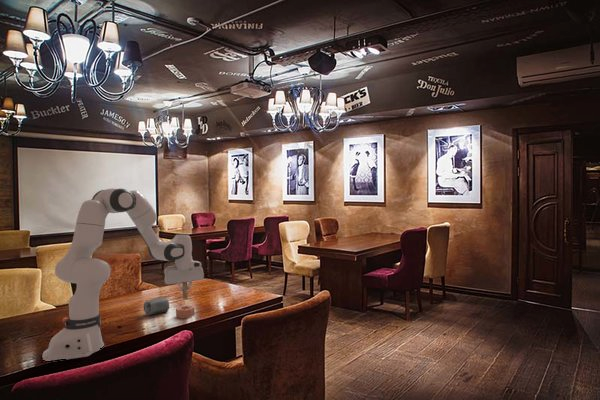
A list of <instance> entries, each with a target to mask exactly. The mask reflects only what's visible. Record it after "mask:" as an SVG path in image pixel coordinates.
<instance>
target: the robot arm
mask: <svg viewBox="0 0 600 400" xmlns="http://www.w3.org/2000/svg"><path fill="white" fill-rule="evenodd" d="M119 213H127V215H128V216H129V219H131V221H132V222H133V224H134V225H135V227H136V229H137V231H138V233H139V234H140V236H141V238H142V239H143V241H144V243H145V244H146V247H147V250H148V253H149V257H150V258H151V259H153V260H155V261H164V262H166V261H167V262H175V264H174V265H168V266H166V267H165V268H164V269H163V274H164V283H165V284H166V285H172V284H173V285H174V284H177V286H178V287H179V289H178V290H179V291H180V292H181V291H182V292H183V287H182V286H181V285H182V282H187V283H188V284H187V291H190V290H191V286H192V284H193V282H194V281H201V280H203V279H204V278H205V273H204V269H203V266H202V262H201V261H198V260H193V256H192V255H193V254H192V252H193V245H192V244H193V243H192V238H191V236H190V235H188V234H182V233H181V234H179V233H178V234H175V236H174V237H173V238H172V239H171V240H169V241H163V240H162V239H160V238H158V236H157V234H156V232H155V230H154V229H153V225H154V224H155V223H156V221H157V217H158V216H157V213H156V211H155V209H154V207H153V206H152V204H151V203H150V202H149V200H148V199H147V198H146V197H145V196H144V195H143V194H142V193H141V192H140V191H139V190H129V189H125V188H107V189H106V188H105V189H101V190H99V191H97V192H96V193H95V194H94V195H93V197H92V198H91V199H88V200H84V201H83V202H82V203H81V206H80V208H79V211H78V214H77V219H76V222H75V226H74V227H75V228H74V233H73V237H72V242H71V244H70V246H69V249H68V250H67V252H66V254H65V255H64V257H62V258H61V259H60V260H59V261H58V262H57V263H56V264H55V269H54V274H55V276H56V278H57V279H59V280H60V281H63V282H66V283H69V284H70V283H71V284H76V288H75V292H74V294H73V295H72V296H70V298H69V299H68V314H69V315H68V316H69V317H67V316H66V317H63V319H62V323H63V328H62V329H61V330H60V331H58V333H56V334H55V335H54V336H53V337H52V338H51V339H50V340H49V341H50V342H49V344H48V348H47V349H45V350H44V351H43V353H42V355H41V356H42V358H43V359H42V360H45V361H51V360H57V359H66V360H71V359H72V360H73V359H79V358H86V357H90V356H91V355H92V354H94V353H96V352H98V351H100V350H101V349H100V348H102V347H103V346H104V347H105V343H104V340H103V337H102V332H101V325H102V323H101V322H102V321H101V320H102V319H101V314H100V310H99V309H100V305H99V304H100V303H99V301H100V299H99V298H100V293H101V289H102V287H103V285H104V284H105V283H106V282H107V281H108V280H109V278H110V277H111V271H112V269H111V265H110V264H109V263H108V262H106V260H102V259H100V258H94V257H93V253H95V251H96V250H97V249H98V248H100V247H101V246H102V244H103V237H104V232H105V225H106V219H107V217H108V214H119ZM104 347H103V348H104ZM103 348H102V349H103ZM45 361H44V362H45Z"/></svg>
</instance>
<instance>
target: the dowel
mask: <svg viewBox="0 0 600 400" xmlns="http://www.w3.org/2000/svg"><path fill="white" fill-rule="evenodd" d="M181 285H182V286H181V287H183V291H182V300H187V299H188V290H187V286H188V282H182V283H181Z"/></svg>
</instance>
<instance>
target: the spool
mask: <svg viewBox="0 0 600 400" xmlns="http://www.w3.org/2000/svg"><path fill="white" fill-rule="evenodd" d="M169 310H170V302H169V299H168V298H167V297H165V296H163V297H156V298H151V299H150V300H146V301H145V302H144V304H143V311H144V314H146V316H152V315H156V314H161V313H165V312H168V311H169Z"/></svg>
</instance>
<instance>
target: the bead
mask: <svg viewBox="0 0 600 400" xmlns="http://www.w3.org/2000/svg"><path fill="white" fill-rule="evenodd" d="M195 311H196V310H195V306H193V305H188V304H187V305H186V304H185V305H181V306H178V307H176V308H175V316H176V318H177V319H188V318H192V317H193V316H194V315H195V314H196V313H195Z"/></svg>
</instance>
